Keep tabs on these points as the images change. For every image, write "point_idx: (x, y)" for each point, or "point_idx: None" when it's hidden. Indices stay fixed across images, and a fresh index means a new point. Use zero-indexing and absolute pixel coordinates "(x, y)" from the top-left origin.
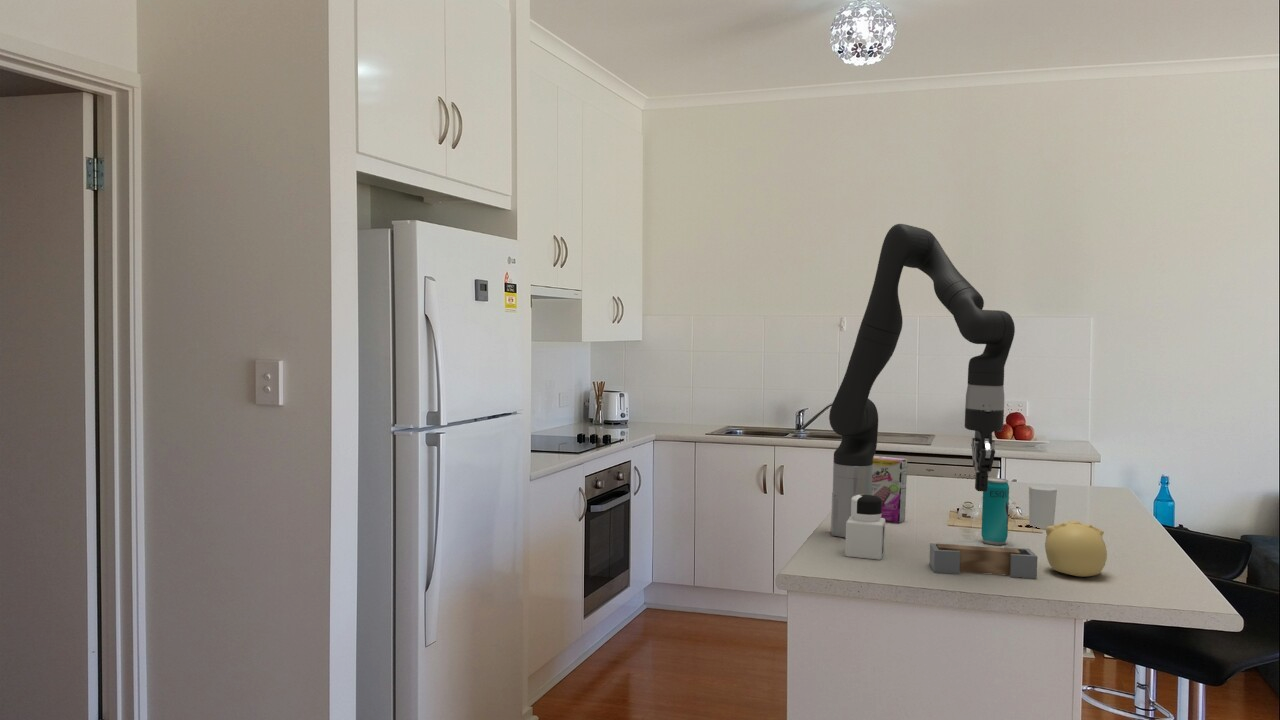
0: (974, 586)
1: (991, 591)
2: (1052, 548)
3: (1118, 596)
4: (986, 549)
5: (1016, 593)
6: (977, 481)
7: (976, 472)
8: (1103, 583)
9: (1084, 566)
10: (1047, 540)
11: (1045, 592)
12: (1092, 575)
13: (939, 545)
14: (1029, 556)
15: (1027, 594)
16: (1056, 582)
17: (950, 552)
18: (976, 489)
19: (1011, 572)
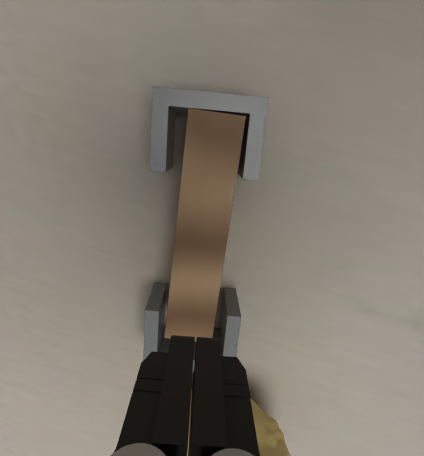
0: (40, 173)
1: (3, 202)
2: (189, 421)
3: (48, 435)
4: (187, 258)
5: (5, 255)
6: (163, 382)
7: (145, 446)
8: None
9: None
10: None
11: (35, 318)
12: None
13: (219, 119)
14: (144, 350)
15: (4, 276)
16: (130, 362)
17: (151, 140)
18: (171, 336)
19: (152, 289)
